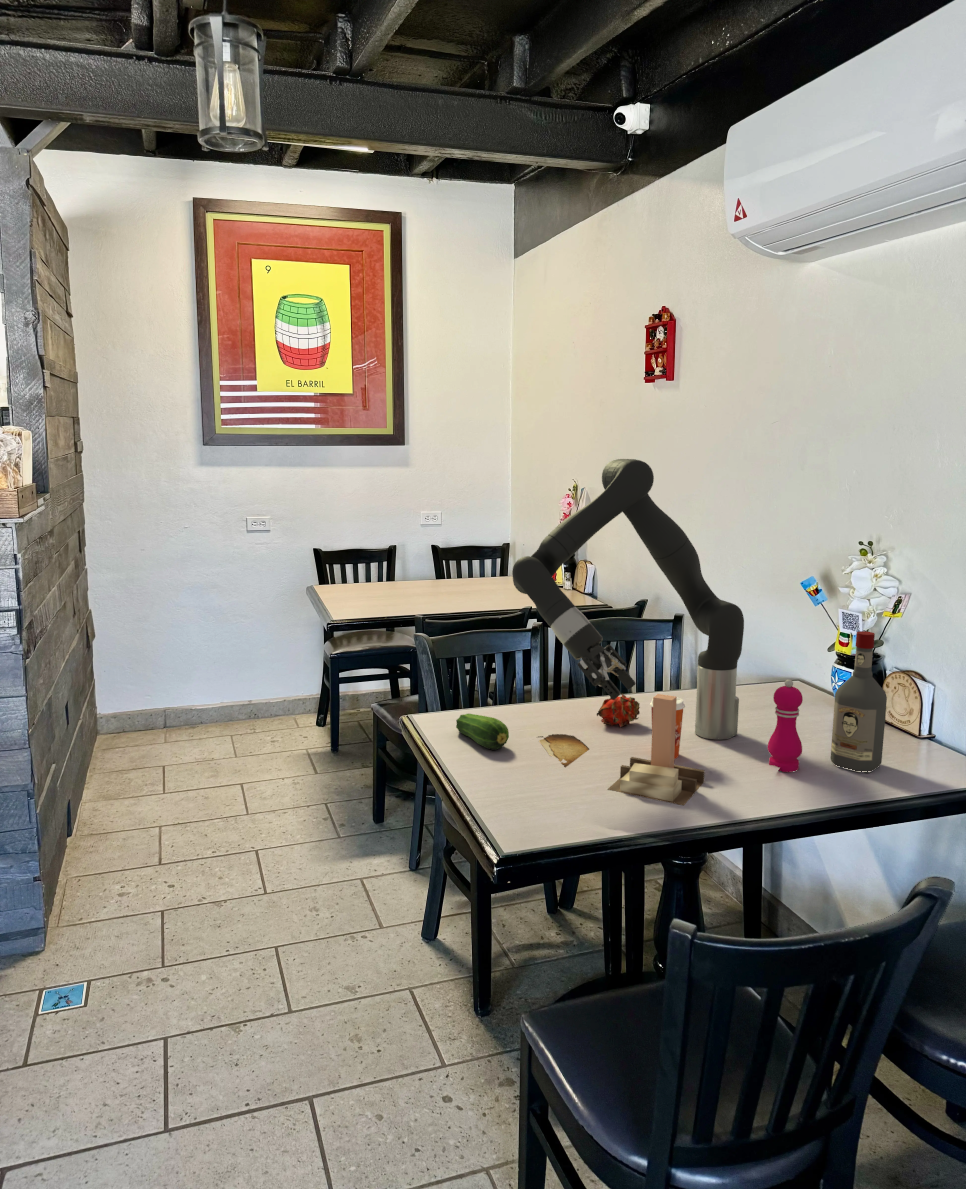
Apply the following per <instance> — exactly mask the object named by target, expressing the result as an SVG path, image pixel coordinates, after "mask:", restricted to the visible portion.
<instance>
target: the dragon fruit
mask: <svg viewBox="0 0 966 1189" xmlns="http://www.w3.org/2000/svg"><path fill="white" fill-rule="evenodd" d="M640 708H641V706H640V703H639V702H638V701H637V700H636V698H635V697H633V696H629V697H627V695H625V694H624V693H621V694H620V696H618V697H617V698H616V699H612V698H611V697H610V696H609V698H607V699H604V700H603V702H602V705H601V706H600V708H599V710H598V711H597V712H596V717H600V718H601V720H600V722H601V723H603V725H609V726H615V725H619V728H623V727H624V726H627V725H630V722H634V721H636V720H639V718H640V717H639V716H638V715H640V714H641V713H640Z"/></svg>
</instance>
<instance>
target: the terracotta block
mask: <svg viewBox="0 0 966 1189" xmlns="http://www.w3.org/2000/svg"><path fill="white" fill-rule="evenodd" d="M677 697H678V696H675V695H669V694H661V693H657V694H656V695H654V696H653V697H652V699H653V717H652V716H651V747H650V748H651V749H650V750H651V751H650V752H651V754H650V760H651V765H653V766H660V767H668V768H674V765H675V759H674V752H675V726H676V701H677Z"/></svg>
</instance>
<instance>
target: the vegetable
mask: <svg viewBox="0 0 966 1189" xmlns="http://www.w3.org/2000/svg"><path fill="white" fill-rule="evenodd" d="M455 720H456V722H455V723H456V726H455V728H456V729H457V730H458V732H459V733H460V734H462V735H463V736H466V737H468V738H471V740H473V741H474V742H475V743H477V744H478V745H480V746H482V747H484V748H486V749H488V750H493V751H494V750H499V749H502V748H503V747H504V746H505V745H506V744H507V742H508V740H509V738H510V735H509V734H510V732H509V728H508V726H507V725H506V724H505V723H504V722H503V721H502V720H500V719H498V718H495V717H491V716H486V715H482V714H480V715H479V714H473V713H465V714H460V715H459V717H458V718H456V719H455Z"/></svg>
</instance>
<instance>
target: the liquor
mask: <svg viewBox="0 0 966 1189" xmlns="http://www.w3.org/2000/svg"><path fill="white" fill-rule="evenodd" d="M875 634H876V633H875V632H872V631H864V630H862V631H857V632H856V635H855V658H854V667H853V668H854V669H853V671H852V675H851V676H850V677H849V678H847V680H845V682H843V683H842V684H841V685H840V686H839V687H837V689H836V691H835V695H834V704H833V719H832V730H831V731H832V734H831V748H830V760H831V762H833V763H834V764H835V765H837V766H840V767H844V768H848V769H852V770H855V771H861V772H862V771H867V772H868V771H872V770H873V771H874V769H875V768H876V769H878V768H879V767H880V766H881V765H882V761H883V760H882V759H883V750H884V736H885V726H886V725H885V724H886V716H887V715H886V714H887V713H886V712H887V700H888V697H887V694H886V692H885V690H884V689H883V688H882V687H881V685H880V684H879V683H878V681H877V680H876V679H875V678H874V676H873V671H872V670H873V668H872V666H873V665H872V664H873V650H874V648H875V636H876V635H875ZM833 763H832V764H833ZM834 764H833V765H834ZM835 765H834V766H835ZM878 766H879V767H878ZM877 767H878V768H877ZM876 769H875V770H876ZM873 771H872V772H873Z"/></svg>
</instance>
